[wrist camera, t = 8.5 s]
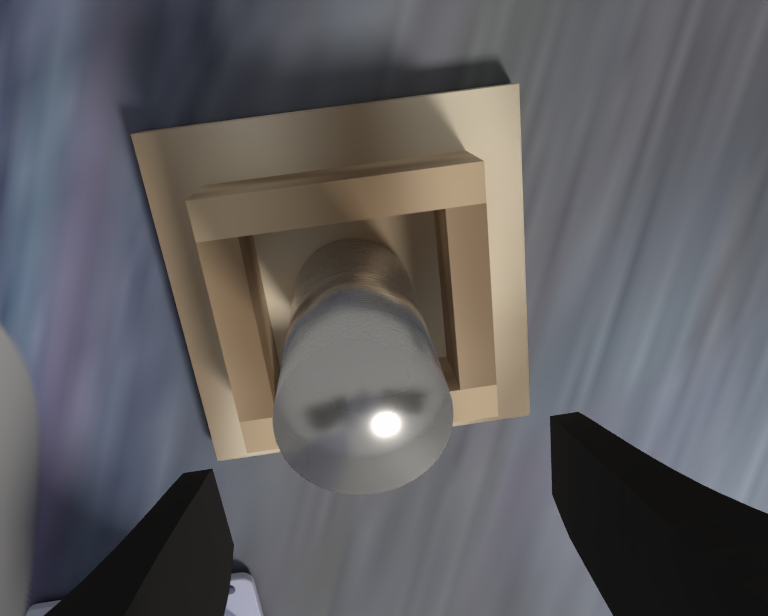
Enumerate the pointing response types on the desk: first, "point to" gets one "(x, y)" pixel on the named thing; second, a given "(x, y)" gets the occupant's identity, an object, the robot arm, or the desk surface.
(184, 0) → the desk surface
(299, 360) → the spigot peg
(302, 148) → the dock socket
